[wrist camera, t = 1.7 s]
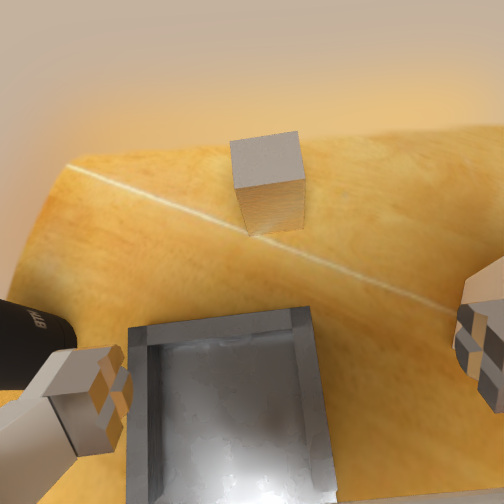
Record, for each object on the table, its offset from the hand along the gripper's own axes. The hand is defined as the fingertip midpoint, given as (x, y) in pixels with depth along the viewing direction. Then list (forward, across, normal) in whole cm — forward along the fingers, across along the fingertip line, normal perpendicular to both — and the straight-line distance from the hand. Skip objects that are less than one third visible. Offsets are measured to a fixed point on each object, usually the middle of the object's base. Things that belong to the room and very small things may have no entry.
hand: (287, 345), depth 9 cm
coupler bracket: (+15, +5, +18) cm, 24 cm away
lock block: (+26, 0, +6) cm, 27 cm away
